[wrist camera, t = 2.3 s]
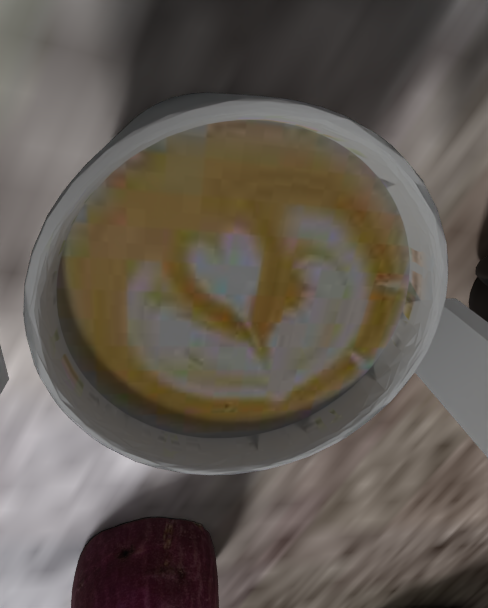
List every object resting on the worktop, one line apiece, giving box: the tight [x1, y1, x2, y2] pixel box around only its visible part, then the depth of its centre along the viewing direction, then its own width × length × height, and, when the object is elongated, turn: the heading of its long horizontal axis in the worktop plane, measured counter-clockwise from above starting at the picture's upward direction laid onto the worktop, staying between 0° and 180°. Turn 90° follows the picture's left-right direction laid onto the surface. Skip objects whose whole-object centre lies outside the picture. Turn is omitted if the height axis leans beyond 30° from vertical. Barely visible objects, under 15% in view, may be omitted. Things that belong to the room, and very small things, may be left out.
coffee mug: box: [23, 93, 448, 475], centre depth 14 cm, size 13×10×10 cm
